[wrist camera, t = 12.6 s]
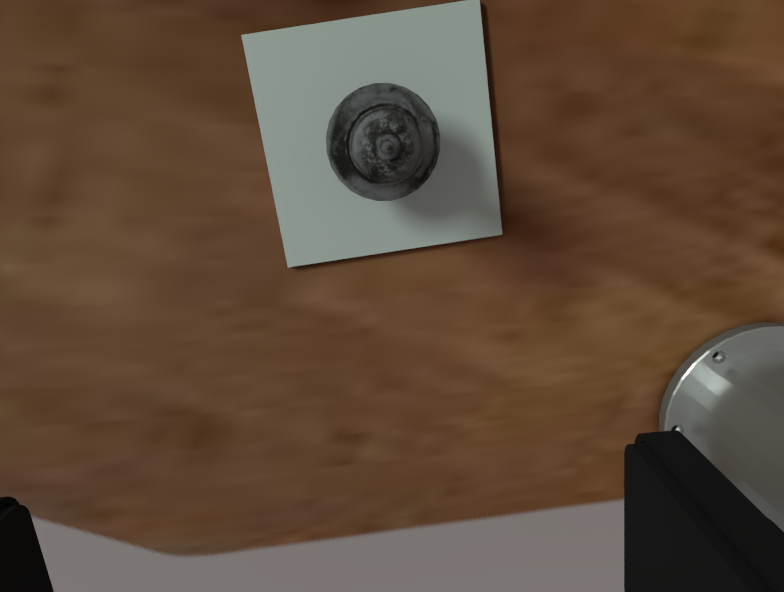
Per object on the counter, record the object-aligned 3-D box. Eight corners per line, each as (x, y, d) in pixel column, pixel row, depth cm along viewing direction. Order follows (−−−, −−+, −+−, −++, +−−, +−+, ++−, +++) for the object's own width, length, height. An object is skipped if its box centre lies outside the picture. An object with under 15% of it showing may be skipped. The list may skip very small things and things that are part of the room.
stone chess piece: (454, 131, 33) (498, 130, 22) (392, 214, 35) (403, 255, 23) (370, 65, 32) (370, 27, 21) (309, 153, 34) (278, 164, 22)
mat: (477, 0, 32) (479, -2, 32) (500, 233, 36) (502, 234, 35) (243, 36, 32) (241, 35, 32) (289, 265, 36) (288, 267, 35)
